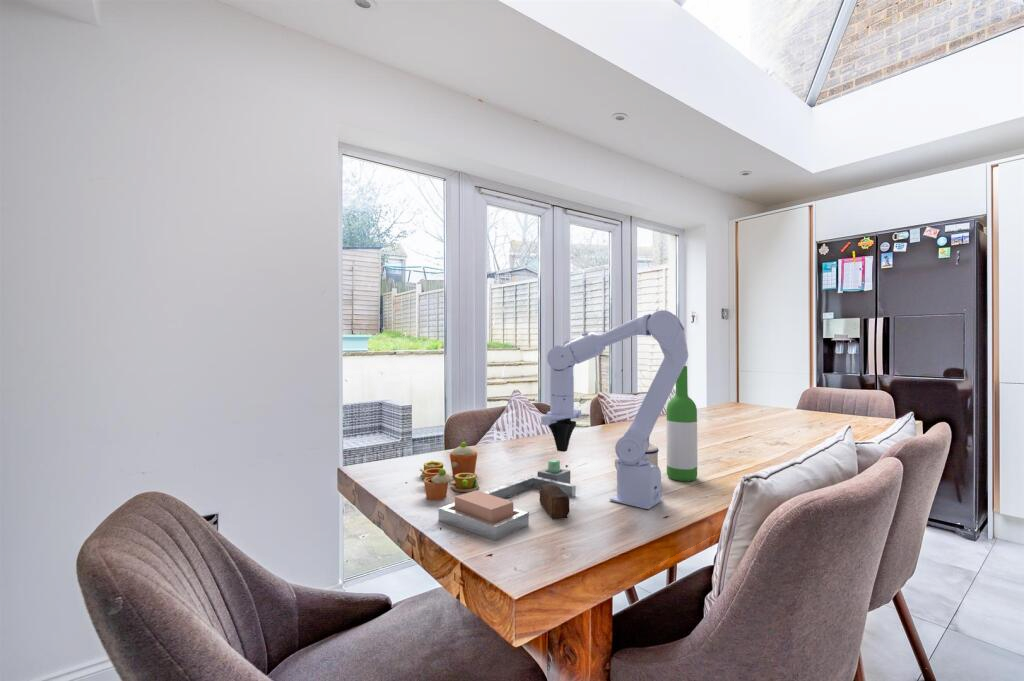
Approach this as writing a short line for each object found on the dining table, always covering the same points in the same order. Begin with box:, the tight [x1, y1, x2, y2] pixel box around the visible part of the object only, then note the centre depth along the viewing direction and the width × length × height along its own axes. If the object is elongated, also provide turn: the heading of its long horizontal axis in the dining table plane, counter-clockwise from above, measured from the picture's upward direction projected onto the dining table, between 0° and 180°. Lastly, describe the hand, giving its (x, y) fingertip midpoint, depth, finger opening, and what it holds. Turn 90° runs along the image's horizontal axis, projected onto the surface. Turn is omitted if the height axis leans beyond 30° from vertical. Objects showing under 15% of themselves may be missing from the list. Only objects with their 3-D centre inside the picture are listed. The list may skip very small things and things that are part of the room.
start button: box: [547, 459, 561, 474], centre depth 122 cm, size 3×3×4 cm
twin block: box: [454, 489, 514, 523], centre depth 97 cm, size 6×11×5 cm, turn 45°
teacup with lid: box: [614, 442, 660, 471], centre depth 125 cm, size 12×9×12 cm
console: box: [537, 467, 571, 484], centre depth 122 cm, size 6×6×4 cm
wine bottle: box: [666, 365, 698, 482], centre depth 128 cm, size 8×8×30 cm
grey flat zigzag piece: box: [438, 475, 577, 542], centre depth 105 cm, size 16×31×2 cm, turn 140°
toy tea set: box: [419, 441, 480, 501], centre depth 123 cm, size 26×16×10 cm, turn 10°
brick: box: [539, 485, 571, 520], centre depth 104 cm, size 11×4×5 cm, turn 11°
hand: (562, 450), depth 117 cm, fingers closed
